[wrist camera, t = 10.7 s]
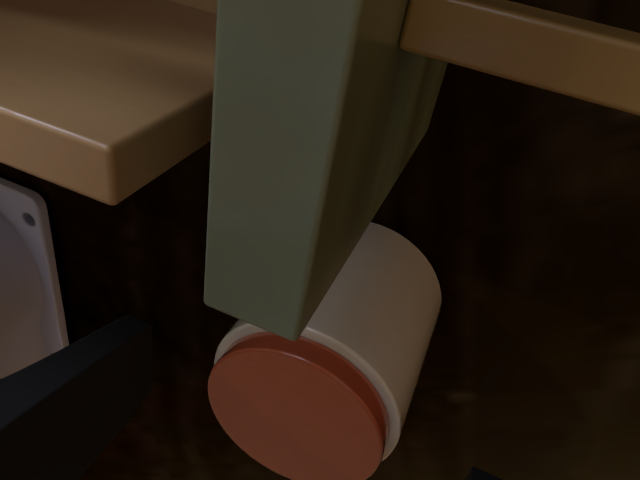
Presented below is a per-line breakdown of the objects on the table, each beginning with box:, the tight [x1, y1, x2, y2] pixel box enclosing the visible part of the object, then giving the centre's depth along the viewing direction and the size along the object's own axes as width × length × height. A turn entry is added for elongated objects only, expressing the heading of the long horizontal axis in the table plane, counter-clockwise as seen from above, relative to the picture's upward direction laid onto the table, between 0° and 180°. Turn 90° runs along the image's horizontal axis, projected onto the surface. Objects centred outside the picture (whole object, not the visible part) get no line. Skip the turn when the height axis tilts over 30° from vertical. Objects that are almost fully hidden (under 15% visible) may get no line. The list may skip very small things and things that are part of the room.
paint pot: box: [208, 222, 441, 480], centre depth 13 cm, size 4×4×5 cm
